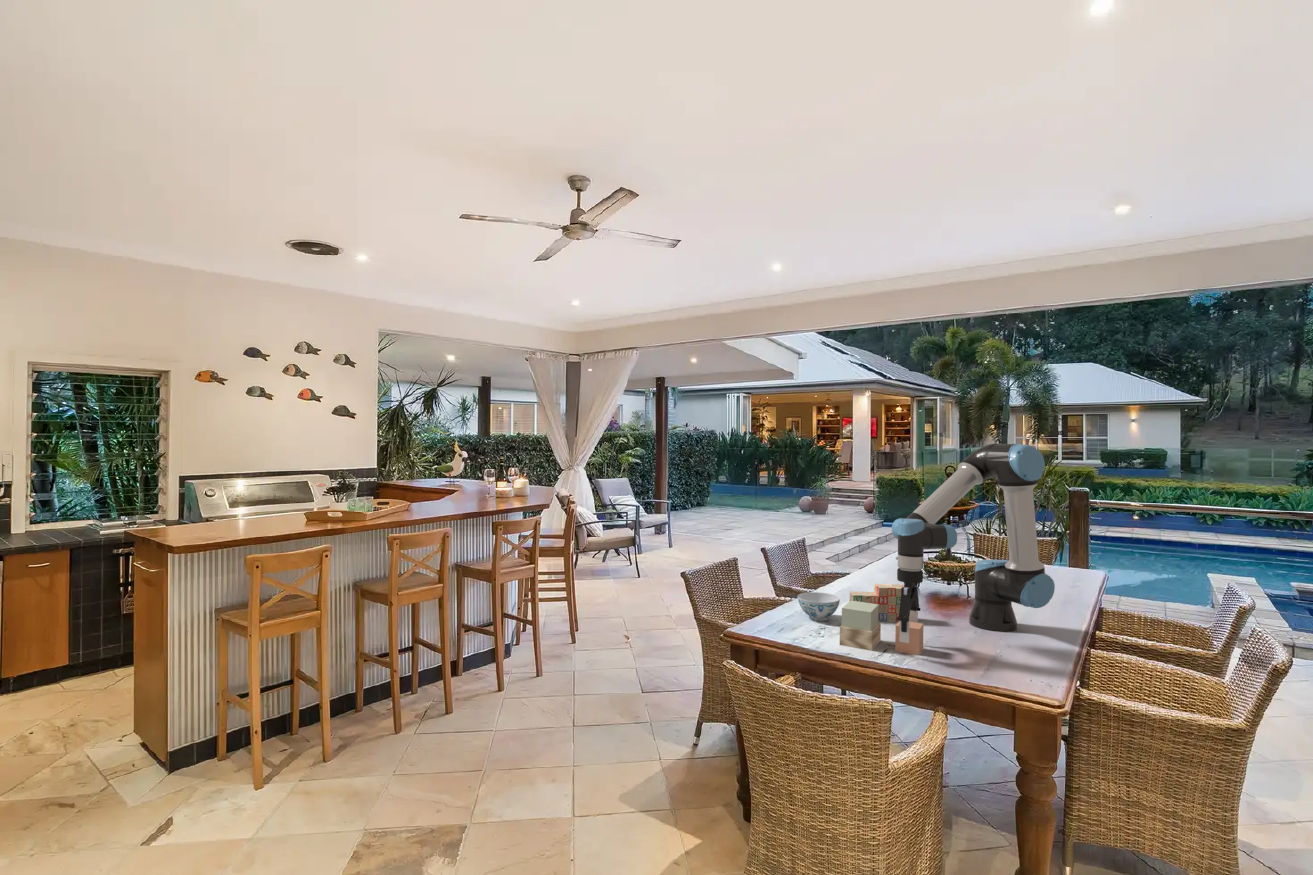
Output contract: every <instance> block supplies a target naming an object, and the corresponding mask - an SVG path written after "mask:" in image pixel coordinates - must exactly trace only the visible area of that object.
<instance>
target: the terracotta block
mask: <svg viewBox="0 0 1313 875" xmlns="http://www.w3.org/2000/svg"><path fill="white" fill-rule="evenodd" d="M894 636H895V640H894V642H895V643H894V644H895V646H894V647H895V648H894V650H895V652H899V653H903V654H904V653H905V654H911V655H914V656H915V655H916V656H920V655H921V653H922V651H923V650H924V623H923V622H918V623H916V622H910V629H909V643H904V642H899V637H900V621H899V622H897V623H896V625H895V635H894Z"/></svg>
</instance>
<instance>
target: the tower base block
mask: <svg viewBox="0 0 1313 875" xmlns="http://www.w3.org/2000/svg"><path fill="white" fill-rule="evenodd" d="M881 625H882V623H881V622H880V621H878V624H877V625H876V626H875V627H874V628H873V629H872V630H871V631H865V630H859V629H853V628H847V627H842V625H840V626H839V646H843V647H848V648H854V649H859V650H867V651H873V650H874V649H875V647H876V646H877V645H878V644H879V643H880V641H881V637H882V636H881V630H882V629H881V627H882V626H881Z"/></svg>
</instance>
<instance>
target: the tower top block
mask: <svg viewBox="0 0 1313 875" xmlns="http://www.w3.org/2000/svg"><path fill="white" fill-rule="evenodd" d="M878 609H879V604H872V603H865V602H858V601H850V602H847V603H846V604H845V605H844V606H843V607H842V608H841V626H842V627H847V628H853V629H859V630H865V631H871V630H872V629H873V628H874V627H875V626H876V625H877V624H878V622H879V621H878Z"/></svg>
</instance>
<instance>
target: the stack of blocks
mask: <svg viewBox="0 0 1313 875" xmlns="http://www.w3.org/2000/svg"><path fill="white" fill-rule="evenodd" d="M873 587H874V591H854V590H851V591H849V602H850V601H858V602H865V603H872V604H879V609H878V622H894V623H896V622H897V623H898V622H899V620H897V617H899V609H900V601H901V588H902V587H904V584H901V583H890V584H889V583H888V584H887V583H884V584H883V583H874V586H873ZM903 617H905V616H903Z"/></svg>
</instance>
